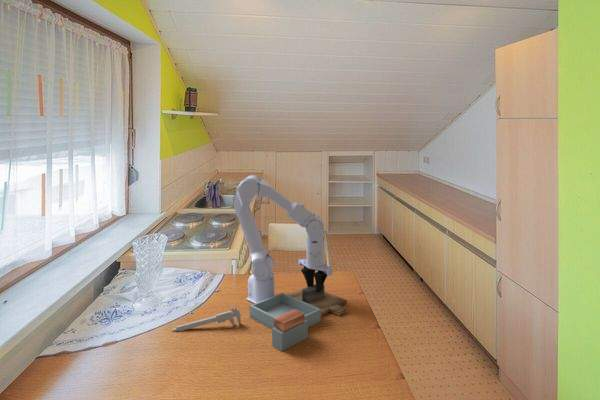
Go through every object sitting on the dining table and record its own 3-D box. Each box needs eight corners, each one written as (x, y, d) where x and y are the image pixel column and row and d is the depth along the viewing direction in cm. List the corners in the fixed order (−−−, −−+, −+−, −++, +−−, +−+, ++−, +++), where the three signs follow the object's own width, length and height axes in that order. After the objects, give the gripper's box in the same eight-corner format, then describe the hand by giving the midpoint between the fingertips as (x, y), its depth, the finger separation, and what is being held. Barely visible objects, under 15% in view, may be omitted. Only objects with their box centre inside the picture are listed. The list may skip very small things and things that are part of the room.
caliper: (240, 324, 124) (240, 305, 123) (240, 326, 123) (240, 307, 122) (172, 330, 120) (171, 311, 119) (172, 332, 119) (170, 312, 118)
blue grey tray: (234, 323, 124) (233, 308, 123) (282, 303, 137) (282, 289, 136) (281, 351, 108) (281, 333, 107) (330, 325, 122) (330, 309, 121)
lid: (281, 302, 140) (280, 286, 139) (308, 290, 150) (308, 275, 148) (328, 323, 124) (328, 305, 123) (355, 309, 134) (356, 292, 133)
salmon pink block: (274, 326, 111) (273, 318, 110) (294, 316, 116) (294, 309, 116) (283, 331, 108) (283, 323, 107) (304, 321, 113) (304, 313, 113)
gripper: (338, 253, 133) (338, 292, 136) (307, 244, 143) (308, 280, 146) (324, 258, 128) (324, 298, 131) (293, 249, 138) (294, 286, 141)
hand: (314, 289), depth 138 cm, fingers open, 4 cm apart
